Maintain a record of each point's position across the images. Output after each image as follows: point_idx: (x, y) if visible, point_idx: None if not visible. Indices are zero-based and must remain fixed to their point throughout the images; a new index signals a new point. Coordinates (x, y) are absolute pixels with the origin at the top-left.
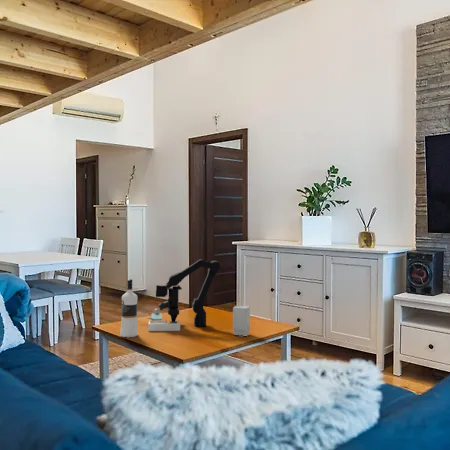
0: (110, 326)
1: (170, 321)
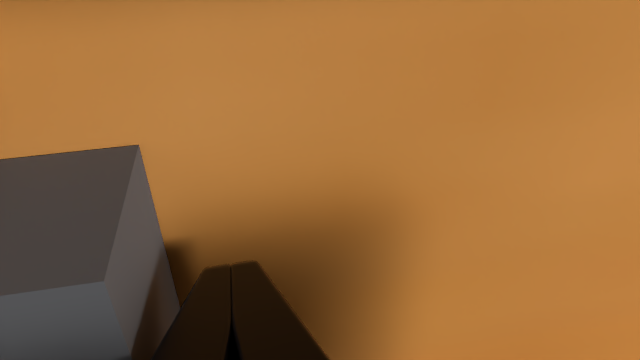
0: None
1: (90, 310)
